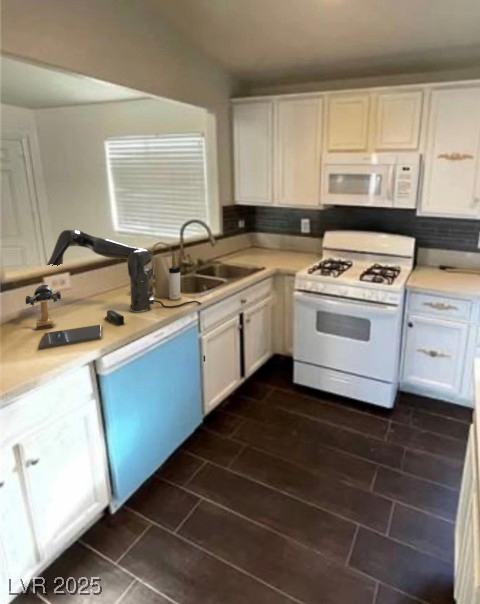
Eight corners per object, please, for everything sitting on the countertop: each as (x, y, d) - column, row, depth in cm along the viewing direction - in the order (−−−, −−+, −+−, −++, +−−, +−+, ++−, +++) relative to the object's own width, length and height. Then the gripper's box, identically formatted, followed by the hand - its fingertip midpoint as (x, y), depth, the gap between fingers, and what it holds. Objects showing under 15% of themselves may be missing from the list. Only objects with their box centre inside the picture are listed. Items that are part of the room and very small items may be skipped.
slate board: (100, 327, 172) (100, 324, 171) (100, 339, 160) (100, 335, 159) (44, 336, 161) (44, 332, 161) (40, 349, 149) (39, 345, 149)
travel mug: (177, 301, 210) (176, 268, 208) (167, 300, 212) (166, 267, 209) (183, 297, 216) (182, 265, 214) (173, 296, 218) (172, 265, 215)
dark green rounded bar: (125, 315, 175) (109, 307, 184) (119, 317, 173) (103, 309, 181) (125, 324, 176) (109, 316, 184) (119, 326, 174) (103, 318, 182)
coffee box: (148, 297, 215) (147, 271, 213) (137, 297, 215) (136, 271, 213) (153, 292, 224) (152, 267, 222) (143, 292, 224) (142, 267, 222)
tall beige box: (151, 296, 217) (150, 256, 213) (162, 291, 226) (161, 253, 223) (166, 298, 214) (165, 258, 211) (175, 293, 224) (175, 254, 221)
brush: (54, 324, 173) (52, 298, 172) (53, 327, 169) (51, 301, 168) (38, 326, 170) (36, 300, 168) (36, 330, 166) (34, 303, 165)
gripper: (25, 288, 181) (24, 297, 168) (59, 283, 189) (61, 292, 177) (26, 302, 182) (25, 312, 169) (60, 297, 190) (62, 306, 178)
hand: (43, 301), depth 173 cm, fingers open, 8 cm apart
